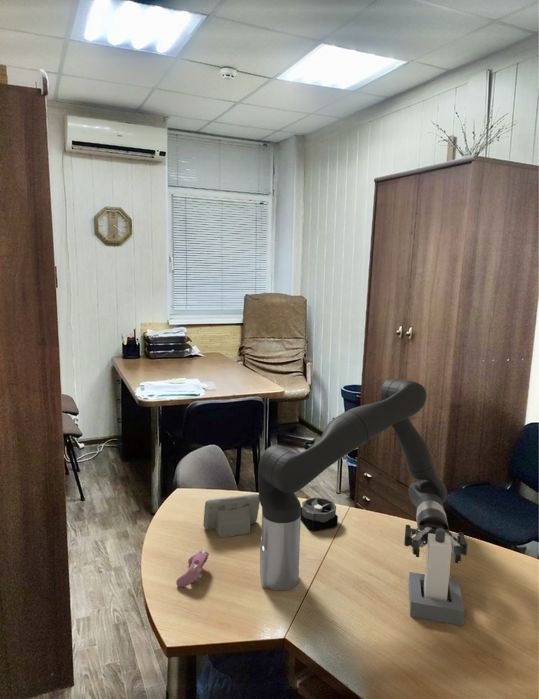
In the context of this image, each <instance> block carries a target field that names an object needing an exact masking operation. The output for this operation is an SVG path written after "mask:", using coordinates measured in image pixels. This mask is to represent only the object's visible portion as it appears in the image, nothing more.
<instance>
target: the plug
mask: <svg viewBox="0 0 539 699" xmlns="http://www.w3.org/2000/svg"><path fill="white" fill-rule="evenodd" d="M451 561H452V546H451V541H450V536H445V530H444V529H442V528H437V529H436V534H431V533H428V543H427V545H426V556H425V567H424V574H425V578H424V589H423V593H422V597H424V598H430V599H436V600H442V601H448V598H447V593H448V583H449V578H450V571H451Z"/></svg>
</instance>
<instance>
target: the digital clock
mask: <svg viewBox="0 0 539 699" xmlns="http://www.w3.org/2000/svg"><path fill="white" fill-rule="evenodd" d="M260 505H261V504H260V501H259V493H255V492H253V493H245V494H238V495H228V496H223V497H221V496H220V497H213V498H208V499H207V500H206V501H205V503H204V510H203V511H204V512H203V522H202V523H203V528H204V529H205V530H206V531H207V530H208V531H211V530H216V529H217V530H216V533H217V534H218V538H219V539H221V538H222V539H223V538H228V537H235V536H243V535H248V534H251V525H252V524H255V523H256V522H257V521H258V516H259V510H260Z"/></svg>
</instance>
